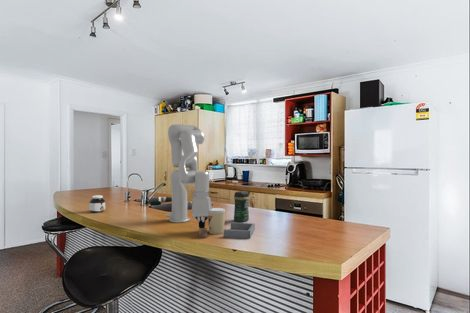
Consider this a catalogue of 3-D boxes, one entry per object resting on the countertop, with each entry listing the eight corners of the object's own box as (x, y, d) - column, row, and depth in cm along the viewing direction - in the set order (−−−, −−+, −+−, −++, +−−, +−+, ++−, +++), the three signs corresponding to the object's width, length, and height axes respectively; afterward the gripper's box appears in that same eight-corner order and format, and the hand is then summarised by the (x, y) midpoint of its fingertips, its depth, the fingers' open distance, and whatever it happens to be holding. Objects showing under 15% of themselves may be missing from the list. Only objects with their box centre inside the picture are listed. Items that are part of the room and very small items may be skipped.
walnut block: (199, 238, 134) (199, 230, 134) (199, 236, 138) (199, 228, 138) (207, 238, 134) (207, 229, 134) (207, 235, 138) (207, 227, 138)
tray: (223, 236, 136) (223, 229, 136) (231, 228, 152) (231, 222, 152) (250, 238, 133) (250, 231, 133) (254, 230, 149) (254, 223, 149)
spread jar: (93, 213, 193) (93, 197, 193) (84, 212, 200) (84, 195, 200) (109, 211, 203) (109, 195, 204) (100, 209, 210) (100, 194, 210)
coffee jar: (242, 223, 166) (242, 192, 166) (231, 221, 170) (232, 191, 170) (251, 220, 174) (251, 190, 174) (240, 218, 178) (240, 189, 178)
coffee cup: (207, 229, 149) (207, 207, 149) (224, 229, 150) (224, 207, 150) (207, 234, 140) (207, 211, 140) (225, 234, 141) (225, 210, 141)
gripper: (186, 195, 145) (186, 230, 145) (213, 195, 142) (213, 231, 141) (191, 193, 152) (191, 226, 152) (217, 194, 149) (217, 228, 149)
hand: (201, 228), depth 147 cm, fingers closed
